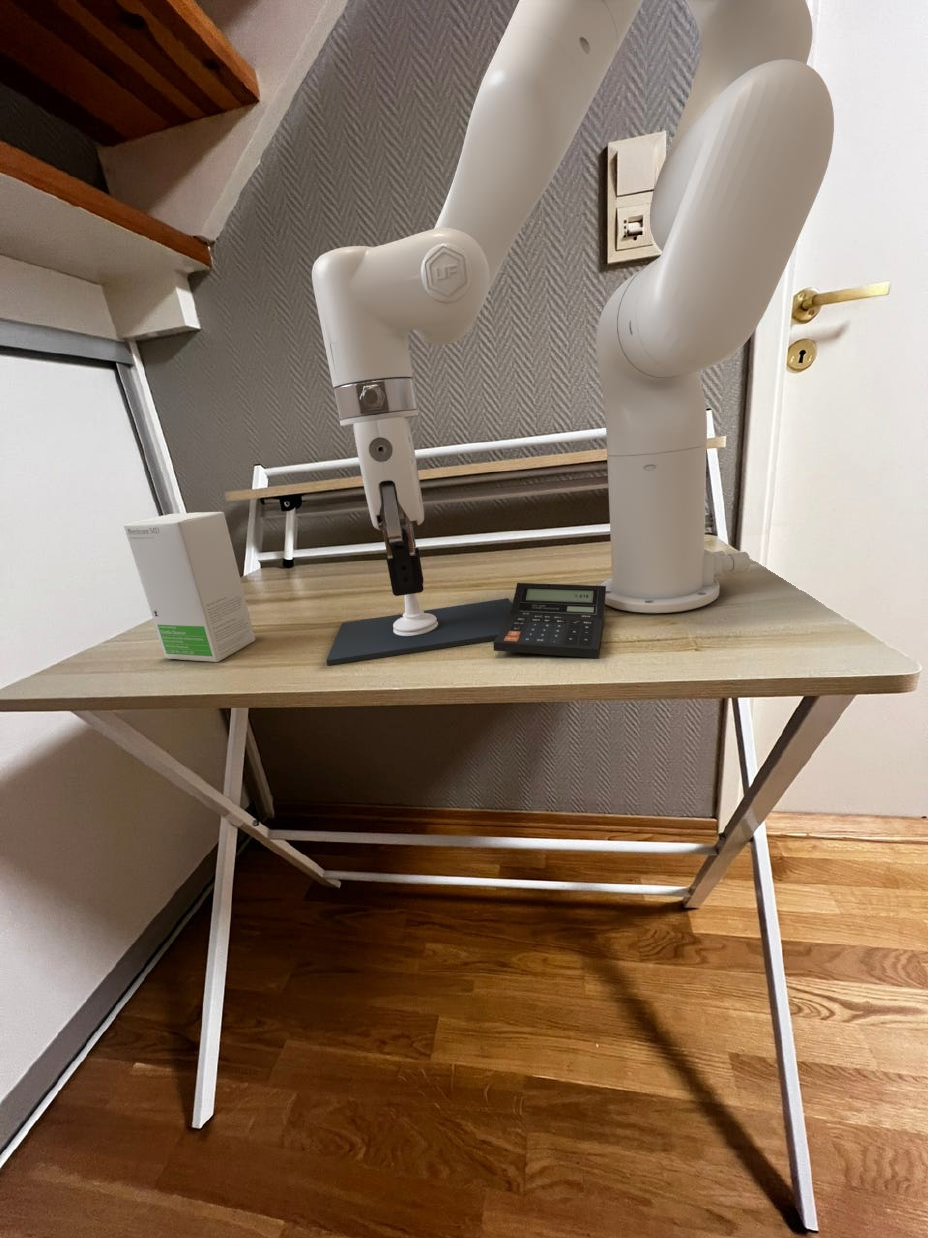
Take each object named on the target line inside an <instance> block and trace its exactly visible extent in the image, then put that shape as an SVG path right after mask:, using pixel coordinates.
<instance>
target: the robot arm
mask: <svg viewBox="0 0 928 1238" xmlns="http://www.w3.org/2000/svg"><path fill="white" fill-rule="evenodd" d="M643 2H644V0H518V3H517V5H516V7H515V9H514V12H513V13H512V16H511V18H510V20H509V22H508V25H507V27H506V29H505V31H504V33H503V35H502V37H501V40H500V42H499V43H498V46H497V48H496V50H495V52H494V54H493V57H492V59H491V61H490V63H489V65H488V68H487V69H486V72H485V74H484V76H483V78H482V80H481V83H480V86H479V88H478V92H477V95H476V97H475V100H474V103H473V107H472V110H471V112H470V113H471V114H470V116H469V120H468V123H467V128H466V131H465V137H464V140H463V145H462V149H461V153H460V157H459V160H458V164H457V168H456V170H455V174H454V177H453V178H452V179H453V180H452V183H451V185H450V189H449V191H448V194H447V196H446V198H445V202H444V204H443V207H442V209H441V211H440V214H439V216H438V219H437V221H436V223H435V226H434V228H432V229H428V230H425V231H422V232H419V233H415V234H412V235H409V236H405V237H404V238H401V239H397V240H394V241H391V242H388V243H384V244H381V245H377V246H367V245H352V246H351V245H350V246H344V247H339V248H335V249H331V250H329V251H327V252H324V253H322V254H321V255H319V256H318V257H317V259H316V260H314V263H313V265H312V269H311V282H312V288H313V293H314V298H315V303H316V309H317V313H318V319H319V322H320V323H319V324H320V328H321V333H322V338H323V343H324V349H325V354H326V359H327V364H328V369H329V374H330V380H331V384H332V389H333V395H334V399H335V404H336V409H337V415H338V418H339V425H340V427H351V426H352V430H353V435H354V441H355V447H356V452H357V457H358V462H359V468H360V473H361V479H362V484H363V488H364V493H365V498H366V503H367V506H368V507H367V508H368V511H369V515H370V520H371V523H372V526H373V527H374V529H376V530H378V531H382V534H383V539H384V544H385V545H384V546H385V550H386V551H385V552H386V556H387V557H386V564H387V570H388V575H389V580H390V585H391V591H392V594H393V596H395V597H400V596H404V595H407V594H414V593H415V594H421V593H422V592H423V591H424V574H423V568H422V563H421V556H420V551H419V550H420V549H419V547H417V544H416V537H415V531H414V530H415V529H414V525H413V524H414V523H413V522H414V521H416V524H417V526H420V525H422V524H423V523H424V521H425V508H424V502H423V496H422V490H421V489H422V487H421V483H420V476H419V470H418V463H417V456H416V451H415V446H414V440H413V435H412V431H411V427H410V422H409V418H415V417H419V415H420V414H419V410H418V402H417V396H416V388H415V381H414V375H413V368H412V363H411V362H412V361H411V355H410V348H409V342H408V334H409V332H410V331H413V333H414V334H415V335H417V336H418V337H419V338H420V339H421V340H423V341H425V342H426V343H429V344H432V345H436V346H444V345H450V344H451V345H452V344H454V343H456V342H458V341H459V340H461V339H462V338H464V337H465V336H466V335H467V333H469V332H470V330H471V328H472V327H473V325H474V324H475V321H476V319H477V318H478V316H479V314H480V313H481V310H482V309H483V307H484V305H485V303H486V300H487V297H488V294H489V292H490V290H491V288H492V287H493V284H494V283H495V280H496V278H497V276H498V274H499V272H500V270H501V268H502V267H503V265H504V263H505V261H506V259H507V257H508V255H509V253H510V251H511V249H512V247H513V245H514V243H515V241H516V239H517V237H518V236H519V234H520V232H521V231H522V228H524V227H523V226H524V225H525V223H526V221H527V219H528V218H529V217H530V215H531V213H532V211H533V210H534V209H535V207H536V206H537V204H538V202H539V201H540V200H541V198H542V197H543V195H544V193H545V192H546V191H547V189H548V187H549V186H550V184H551V182H552V180H553V179H554V176H555V174H556V173H557V171H558V169H559V167H560V165H561V163H562V161H563V160H564V158H565V156H566V154H567V152H568V150H569V149H570V147H571V144H572V143H573V140H574V139H575V137H576V135H577V132H578V131H579V128H580V126H581V124H582V122H583V120H584V118H585V117H586V114H587V112H588V110H589V108H590V106H591V105H592V102H593V100H594V99H595V96H596V95H597V93H598V91H599V89H600V87H601V85H602V83H603V81H604V79H605V76H606V75H607V73H608V72H609V69H610V67H611V65H612V63H613V61H614V59H615V57H616V55H617V53H618V51H619V50H620V48H621V46H622V43H623V41H624V40H625V37H626V36H627V34H628V32H629V30H630V28H631V27H632V24H633V23H634V20H635V18H636V16H637V14H638V12H639V10H640V9H641V6H642V4H643ZM685 3H686V5H687V7H688V8H689V11H690V13H691V14H692V17H693V19H694V22H695V25H696V27H697V29H698V30H697V31H698V33H699V38H700V56H699V60H698V64H697V68H696V71H695V74H694V78H693V80H692V84H691V87H690V91H689V94H688V95H687V98H686V99H687V100H686V102H685V104H684V107H683V110H682V113H681V115H680V118H679V121H678V124H677V127H676V130H675V133H674V135H673V138H672V140H671V143H670V146H669V149H668V151H667V153H666V156H665V159H664V161H663V163H662V166H661V168H660V171H659V173H658V176H657V179H656V182H655V186H654V187H653V192H652V198H651V201H650V207H649V227H650V232H651V236H652V239H653V241H654V243H655V245H656V246H657V247H658V249H659V250H660V251H661V254H660V256H659V257H658V258H656V259H654V260H653V261H651V262H650V263H649V264H647V265H645V266H644V267H643V268H641V269H639V270H638V271H637V272H636V273H634V274H632V275H631V276H630V277H629V278H627V279H626V280H624V282H622V283H621V284H620V285H619V286H618V287H617V288H616V289H615V291H614V292H613V293H612V295H610V297H609V299H608V300H607V302H606V304H605V306H604V307H603V309H602V312H601V314H600V316H599V319H598V323H597V328H596V337H595V352H596V353H595V355H596V362H597V368H598V375H599V379H600V380H599V381H600V386H601V392H602V398H603V399H602V400H603V407H604V417H605V419H604V420H605V433H606V459H607V463H606V464H607V484H608V487H607V488H608V510H609V511H608V513H609V534H610V557H611V559H610V560H611V577H609V578H607V579H605V580H604V581H602V582H601V583H600V584H599V586H606V596H605V606H606V605H607V606H608V607H611V608H614V609H617V610H621V611H626V612H631V613H640V614H641V613H642V614H668V613H679V612H684V611H690V610H694V609H698V608H702V607H704V606H707V605H709V604H711V603H713V602H714V601H715V600H716V599H717V598H718V597H720V582H719V581H718V580H717V579H716V577H720V576H721V574H722V573H723V572H738V571H744V570H748V569H749V568H750V566H751V557H750V555H749V553H748V552H747V551H740V552H733V553H728V554H725V551H724V550H719V551H713V552H712V551H710V550H707V549H705V543H706V542H705V537H706V536H705V535H706V533H705V532H706V490H707V489H706V485H707V444H708V416H707V404H706V399H705V394H704V393H705V392H704V390H703V385H702V380H701V377H700V371H705V370H707V369H710V368H713V367H715V366H718V365H721V363H723V362H725V361H727V360H728V359H730V358H731V357H733V356H734V355H735V354H736V353H737V352H738V351H739V350H740V349H741V348H742V347H743V346H744V345H745V344H746V343H747V342H748V340H749V339H750V337H751V336H752V335H753V334H754V332H755V331H756V329H757V327H758V325H759V324H760V323H761V320H762V318H763V317H764V315H765V313H766V311H767V310H768V307H769V305H770V303H771V301H772V298H773V297H774V294H775V292H776V290H777V287H778V285H779V282H780V281H781V278H782V276H783V274H784V272H785V270H786V267H787V265H788V263H789V260H790V258H791V255H792V253H793V251H794V249H795V247H796V244H797V242H798V241H799V237H800V235H801V233H802V230H803V228H804V226H805V224H806V221H807V220H808V218H809V214H810V212H811V210H812V209H813V205H814V203H815V201H816V199H817V196H818V193H819V192H820V188H821V186H822V184H823V181H824V178H825V175H826V173H827V170H828V167H829V162H830V160H831V159H830V158H831V154H832V149H833V143H834V133H835V116H834V108H833V107H834V106H833V101H832V100H833V99H832V98H831V94H830V90H829V89H828V86H827V84H826V83H825V81H824V78H822V76H821V75H820V73H818V72H817V70H815V69H814V68H813V67H812V66H810V65H808V60H809V57H810V54H811V50H812V44H813V35H814V33H813V22H812V21H813V20H812V15H811V12H810V9H809V6H808V4H807V1H806V0H685Z"/></svg>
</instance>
